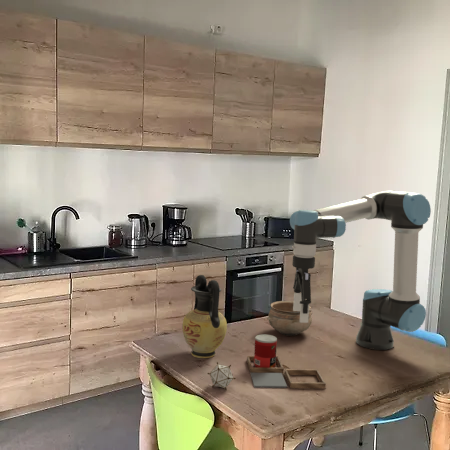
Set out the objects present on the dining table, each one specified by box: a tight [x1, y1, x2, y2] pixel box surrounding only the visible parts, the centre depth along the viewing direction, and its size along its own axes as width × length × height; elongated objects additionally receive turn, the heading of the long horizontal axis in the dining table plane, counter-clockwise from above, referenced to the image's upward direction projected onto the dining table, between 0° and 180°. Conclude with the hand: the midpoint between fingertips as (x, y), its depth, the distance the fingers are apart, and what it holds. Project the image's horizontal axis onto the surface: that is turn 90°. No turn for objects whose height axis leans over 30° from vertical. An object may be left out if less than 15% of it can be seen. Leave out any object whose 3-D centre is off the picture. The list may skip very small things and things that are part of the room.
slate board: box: [250, 373, 288, 389], centre depth 185 cm, size 11×11×1 cm
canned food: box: [253, 333, 278, 368], centre depth 197 cm, size 8×8×11 cm
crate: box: [246, 355, 285, 374], centre depth 198 cm, size 12×12×2 cm
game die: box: [207, 361, 236, 391], centre depth 178 cm, size 9×8×10 cm
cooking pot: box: [266, 300, 313, 337], centre depth 236 cm, size 25×19×12 cm
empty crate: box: [283, 368, 327, 390], centre depth 186 cm, size 12×12×2 cm
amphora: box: [182, 274, 228, 359], centre depth 206 cm, size 18×17×30 cm
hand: (300, 316), depth 187 cm, fingers open, 13 cm apart
